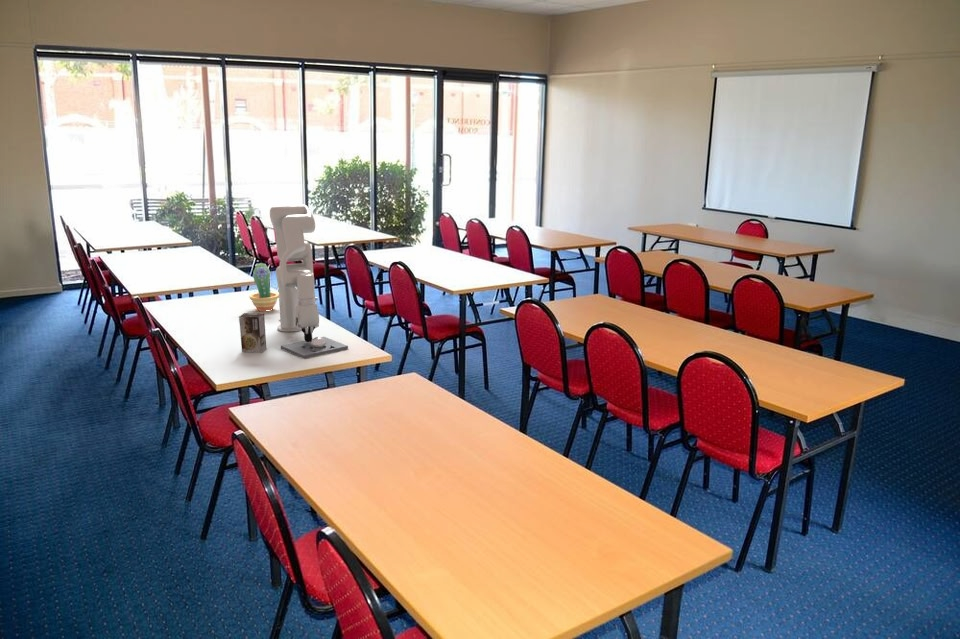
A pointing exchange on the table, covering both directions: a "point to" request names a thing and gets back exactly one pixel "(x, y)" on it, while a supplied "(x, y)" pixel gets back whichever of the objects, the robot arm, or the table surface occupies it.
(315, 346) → the metal ball
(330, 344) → the hole board
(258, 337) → the coffee box
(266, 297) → the potted cactus
